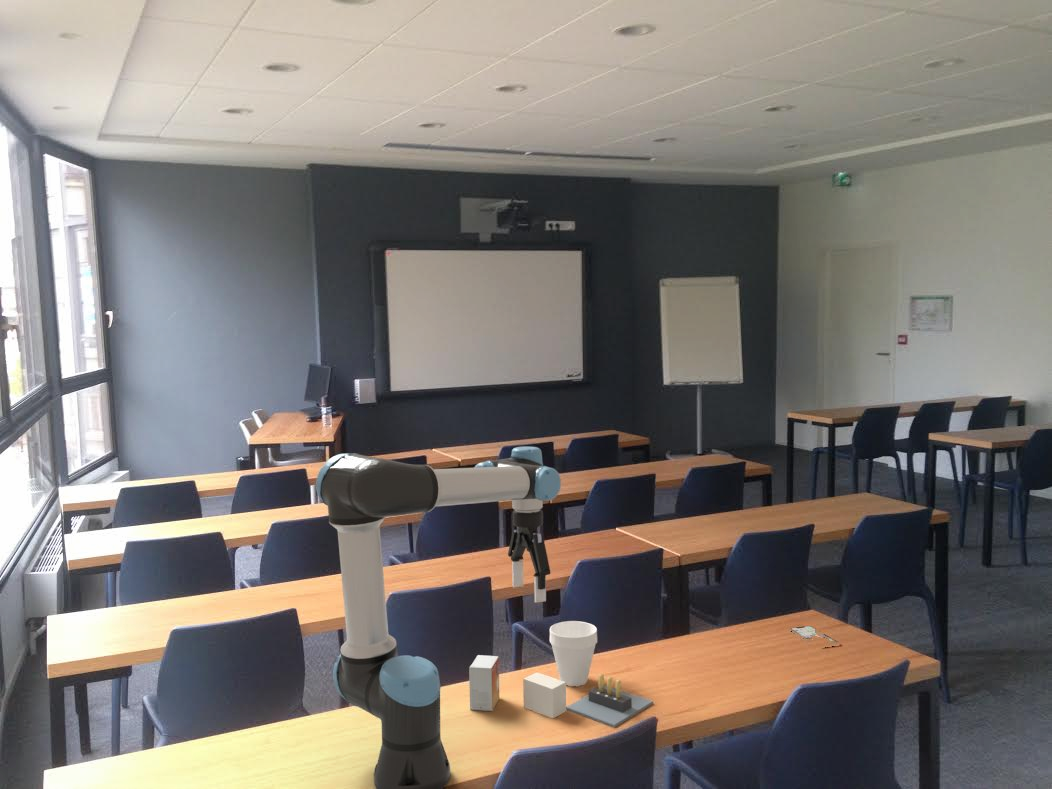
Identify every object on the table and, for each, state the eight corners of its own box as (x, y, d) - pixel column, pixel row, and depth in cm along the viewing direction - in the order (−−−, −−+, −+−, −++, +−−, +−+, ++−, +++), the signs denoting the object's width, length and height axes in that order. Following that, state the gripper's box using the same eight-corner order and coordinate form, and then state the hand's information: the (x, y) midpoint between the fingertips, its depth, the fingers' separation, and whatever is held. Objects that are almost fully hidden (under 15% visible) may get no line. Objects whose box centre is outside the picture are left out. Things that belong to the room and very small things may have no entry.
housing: (552, 718, 192) (552, 689, 192) (523, 707, 198) (523, 678, 198) (566, 710, 196) (565, 682, 195) (537, 700, 202) (537, 672, 201)
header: (614, 727, 187) (613, 697, 187) (565, 709, 196) (565, 680, 196) (653, 703, 199) (653, 675, 199) (605, 687, 208) (605, 660, 208)
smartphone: (819, 647, 232) (788, 628, 246) (819, 651, 232) (788, 631, 247) (842, 644, 234) (810, 625, 249) (842, 648, 234) (810, 629, 249)
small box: (492, 712, 196) (491, 668, 195) (469, 710, 197) (468, 667, 196) (500, 697, 204) (499, 655, 203) (478, 695, 205) (477, 654, 204)
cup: (606, 686, 209) (605, 633, 208) (561, 694, 205) (561, 640, 204) (585, 668, 221) (584, 618, 220) (542, 675, 216) (541, 624, 215)
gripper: (563, 517, 195) (564, 606, 197) (521, 499, 218) (522, 578, 219) (534, 520, 192) (535, 610, 194) (494, 502, 215) (496, 582, 216)
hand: (528, 593), depth 206 cm, fingers open, 13 cm apart
